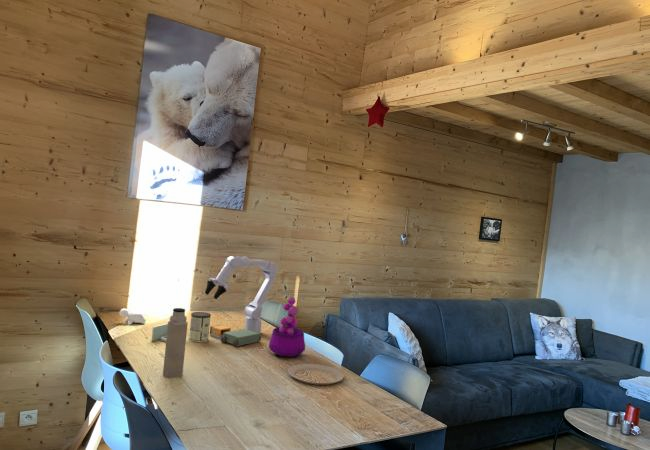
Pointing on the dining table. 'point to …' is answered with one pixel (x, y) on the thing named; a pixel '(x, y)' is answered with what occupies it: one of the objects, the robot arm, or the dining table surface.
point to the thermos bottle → (175, 344)
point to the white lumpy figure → (132, 316)
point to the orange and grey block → (219, 330)
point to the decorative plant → (288, 334)
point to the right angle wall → (160, 332)
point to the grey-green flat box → (239, 337)
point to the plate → (301, 367)
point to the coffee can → (199, 326)
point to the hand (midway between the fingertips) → (210, 296)
